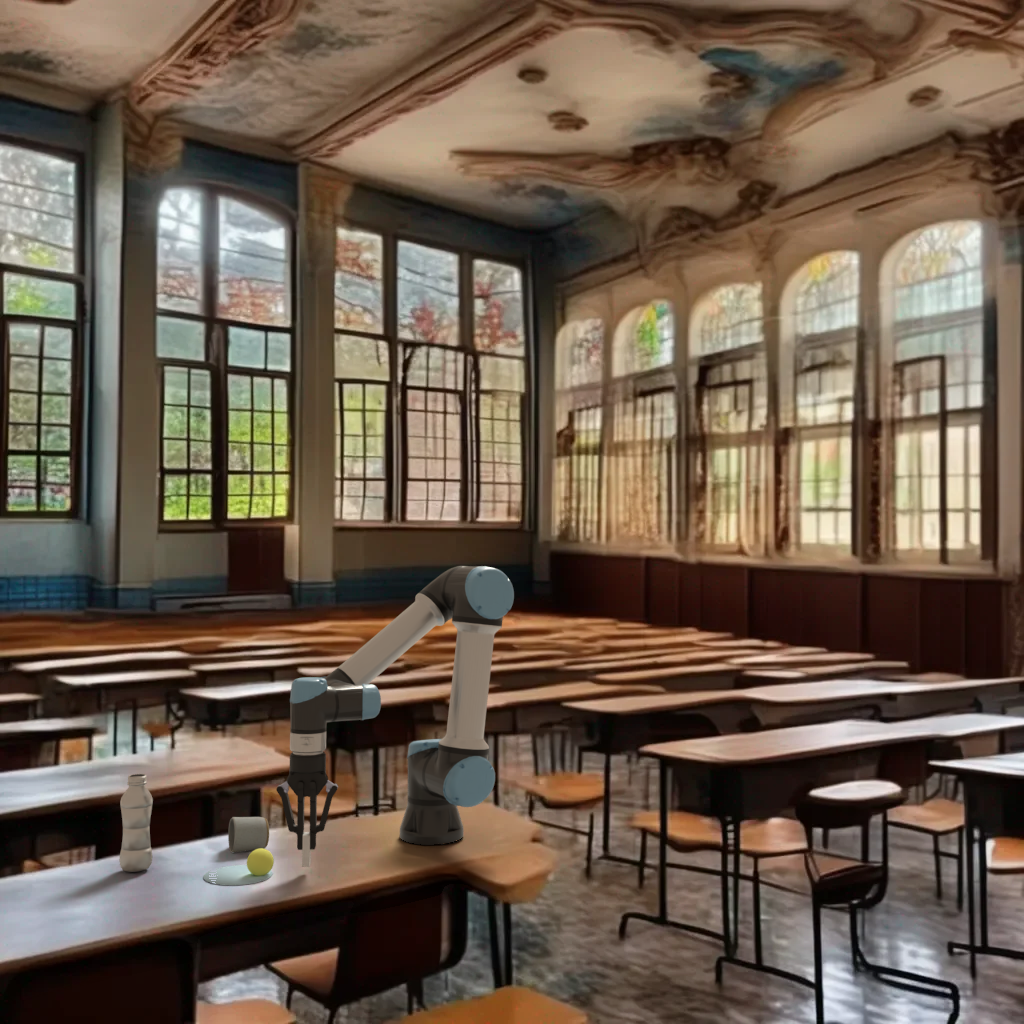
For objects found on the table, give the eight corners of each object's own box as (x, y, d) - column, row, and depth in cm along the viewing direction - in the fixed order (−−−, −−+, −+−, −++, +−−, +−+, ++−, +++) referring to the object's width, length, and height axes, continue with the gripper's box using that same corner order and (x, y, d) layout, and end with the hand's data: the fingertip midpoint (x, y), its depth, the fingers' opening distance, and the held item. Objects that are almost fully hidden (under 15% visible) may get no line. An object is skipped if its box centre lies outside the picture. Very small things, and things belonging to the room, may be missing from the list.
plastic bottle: (158, 870, 235) (159, 775, 235) (128, 877, 230) (130, 780, 230) (142, 864, 239) (144, 771, 240) (113, 871, 234) (115, 775, 235)
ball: (244, 867, 234) (269, 875, 235) (241, 873, 229) (266, 882, 229) (254, 842, 235) (278, 850, 235) (251, 848, 229) (276, 857, 230)
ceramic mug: (270, 852, 250) (270, 817, 250) (233, 856, 246) (234, 821, 246) (259, 841, 259) (260, 808, 260) (224, 845, 256) (224, 811, 256)
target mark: (276, 865, 239) (276, 864, 239) (268, 884, 225) (268, 883, 225) (209, 866, 238) (209, 865, 238) (197, 886, 224) (197, 885, 224)
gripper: (274, 755, 229) (272, 870, 229) (338, 754, 231) (336, 869, 230) (278, 749, 237) (276, 860, 236) (340, 748, 238) (338, 859, 237)
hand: (306, 864), depth 233 cm, fingers closed
